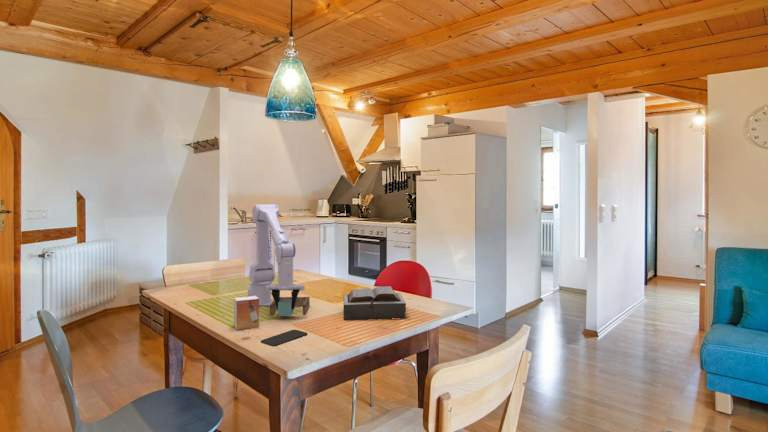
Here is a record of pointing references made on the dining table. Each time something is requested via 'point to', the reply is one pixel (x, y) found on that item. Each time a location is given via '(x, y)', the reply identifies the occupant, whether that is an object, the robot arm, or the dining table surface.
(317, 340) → the dining table surface
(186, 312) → the dining table surface
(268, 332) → the dining table surface
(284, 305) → the teal block
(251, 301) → the small box
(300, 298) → the walnut crate
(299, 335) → the phone
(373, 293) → the bible
